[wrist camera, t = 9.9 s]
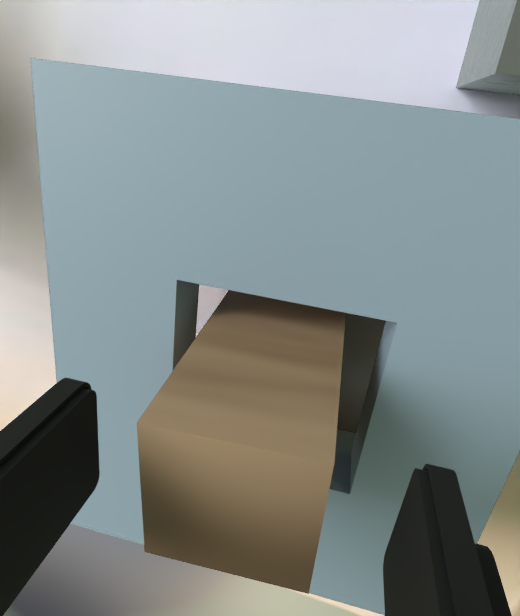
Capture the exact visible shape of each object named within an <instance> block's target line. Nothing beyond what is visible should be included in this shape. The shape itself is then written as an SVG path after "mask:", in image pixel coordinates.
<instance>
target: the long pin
mask: <svg viewBox="0 0 520 616" xmlns="http://www.w3.org/2000/svg"><path fill="white" fill-rule="evenodd" d="M345 319H346V313H344V312H339V311H334V310H329V309H324V308H319V307H314V306H309V305H303V304H298V303H293V302H288V301H283V300H278V299H273V298H268V297H263V296H257V295H252V294H247V293H242V292H237V291H232V290H229V291H228V293H227V294H226V295H225V297H224V298H223V300H222V301H221V303H220V304H219V305H218V307H217V308H216V310H215V311H214V313H213V314H212V315H211V317H210V318H209V320H208V321H207V323H206V324H205V325H204V327H203V328H202V330H201V331H200V333H199V334H198V335H197V337H196V338H195V340H194V341H193V343H192V344H191V345H190V347H189V348H188V350H187V351H186V353H185V354H184V355H183V357H182V358H181V360H180V361H179V363H178V364H177V365H176V367H175V368H174V370H173V371H172V373H171V374H170V375H169V377H168V378H167V380H166V381H165V383H164V384H163V385H162V387H161V388H160V390H159V391H158V393H157V394H156V395H155V397H154V398H153V400H152V401H151V403H150V404H149V405H148V407H147V408H146V410H145V411H144V413H143V414H142V415H141V417H140V418H139V420H138V421H137V438H138V454H139V470H140V486H141V501H142V517H143V533H144V547H145V548H144V549H145V552H147V553H151V554H155V555H159V556H163V557H167V558H171V559H175V560H179V561H183V562H187V563H191V564H194V565H198V566H202V567H206V568H210V569H214V570H218V571H222V572H226V573H230V574H234V575H238V576H242V577H245V578H249V579H254V580H257V581H261V582H265V583H269V584H273V585H277V586H281V587H285V588H289V589H292V590H296V591H300V592H304V593H308V594H309V590H310V585H311V580H312V574H313V569H314V564H315V559H316V554H317V549H318V544H319V539H320V534H321V529H322V524H323V519H324V514H325V509H326V504H327V498H328V493H329V488H330V483H331V478H332V473H333V468H334V462H335V449H336V436H337V423H338V410H339V397H340V384H341V371H342V358H343V345H344V332H345Z"/></svg>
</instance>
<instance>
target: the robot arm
mask: <svg viewBox="0 0 520 616" xmlns="http://www.w3.org/2000/svg"><path fill="white" fill-rule="evenodd" d="M99 475H100V471H99V444H98V418H97V395H96V392H95V391H94V390H91V386H90V384H89V383H87V382H83V381H79V380H75V379H71V378H63V379H61V380H60V381H59V382H58V383H56V384H55V385H54V386H53V387H52V388H51V389H49V390H48V391H47V392H46V393H45V394H44V395H42V396H41V397H40V398H39V399H38V400H36V401H35V402H34V403H33V404H32V405H31V406H29V407H28V408H27V409H26V410H25V411H24V412H22V413H21V414H20V415H19V416H18V417H17V418H15V419H14V420H13V421H12V422H11V423H9V424H8V425H7V426H6V427H5V428H4V429H2V430H1V431H0V616H3V615H4V613H5V612H6V611H7V609H8V608H9V607H10V605H11V604H12V602H13V601H14V600H15V598H16V597H17V596H18V594H19V593H20V591H21V590H22V589H23V587H24V586H25V585H26V583H27V582H28V580H29V579H30V578H31V576H32V575H33V574H34V572H35V571H36V569H37V568H38V567H39V565H40V564H41V563H42V561H43V560H44V559H45V557H46V556H47V554H48V553H49V552H50V550H51V549H52V548H53V546H54V545H55V543H56V542H57V541H58V539H59V538H60V537H61V535H62V534H63V532H64V531H65V530H66V528H67V527H68V526H69V524H70V523H71V522H72V520H73V519H74V518H75V516H76V515H77V513H78V512H79V511H80V509H81V508H82V507H83V505H84V504H85V502H86V501H87V500H88V498H89V497H90V496H91V494H92V493H93V491H94V490H95V488H96V486H97V484H98V481H99ZM383 583H384V605H385V616H511V612H510V609H509V606H508V602H507V599H506V596H505V592H504V589H503V586H502V582H501V579H500V576H499V572H498V569H497V566H496V562H495V559H494V557H493V554H492V552H491V551H490V549H489V548H488V547H486V546H483V545H479V544H475V543H474V539H473V535H472V531H471V528H470V524H469V520H468V516H467V512H466V509H465V505H464V501H463V497H462V493H461V490H460V486H459V482H458V478H457V475H456V472H455V471H454V470H452V469H448V468H443V467H439V466H435V465H431V464H425V466H424V467H423V469H418V468H415V469H414V471H413V473H412V476H411V479H410V482H409V485H408V488H407V491H406V494H405V496H404V499H403V502H402V505H401V508H400V511H399V514H398V517H397V520H396V522H395V525H394V528H393V531H392V534H391V537H390V540H389V543H388V546H387V548H386V551H385V555H384V562H383Z"/></svg>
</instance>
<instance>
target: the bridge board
mask: <svg viewBox="0 0 520 616" xmlns="http://www.w3.org/2000/svg"><path fill="white" fill-rule="evenodd" d="M30 59H31V71H32V84H33V96H34V108H35V121H36V133H37V145H38V157H39V170H40V182H41V194H42V207H43V219H44V231H45V244H46V256H47V268H48V280H49V293H50V305H51V317H52V330H53V342H54V354H55V366H56V379H57V383H58V382H59V381H60V380H61V379H63V378H71V379H75V380H79V381H83V382H87V383H89V384H90V386H91V390H94V391H95V392H96V395H97V418H98V444H99V471H100V475H99V481H98V484H97V486H96V488H95V490H94V491H93V493H92V494H91V496H90V497H89V498H88V500H87V501H86V502H85V504H84V505H83V507H82V508H81V509H80V511H79V512H78V513H77V515H76V516H75V518H74V519H73V520H72V522H71V523H70V524H74V525H77V526H81V527H84V528H88V529H91V530H94V531H98V532H102V533H105V534H108V535H112V536H115V537H118V538H122V539H125V540H129V541H132V542H136V543H139V544H142V545H144V533H143V517H142V501H141V486H140V470H139V454H138V438H137V421H138V420H139V418H140V417H141V415H142V414H143V413H144V411H145V410H146V408H147V407H148V405H149V404H150V403H151V401H152V400H153V398H154V397H155V395H156V394H157V393H158V391H159V390H160V388H161V387H162V385H163V384H164V383H165V381H166V380H167V378H168V377H169V375H170V374H171V373H172V371H173V370H174V368H175V367H176V365H177V364H178V363H179V361H180V360H181V358H182V357H183V355H184V354H185V353H186V351H187V350H188V348H189V347H190V345H191V344H192V343H193V341H194V340H195V336H196V321H197V307H198V292H199V284H201V285H206V286H211V287H217V288H222V289H227V290H232V291H237V292H242V293H247V294H252V295H257V296H263V297H268V298H273V299H278V300H283V301H288V302H293V303H298V304H303V305H309V306H314V307H319V308H324V309H329V310H334V311H339V312H344V313H349V314H355V315H360V316H365V317H370V318H375V319H380V320H385V321H386V322H385V326H384V330H383V334H382V338H381V341H380V345H379V349H378V353H377V356H376V360H375V364H374V368H373V372H372V375H371V379H370V383H369V387H368V391H367V394H366V398H365V402H364V406H363V410H362V413H361V417H360V421H359V425H358V429H357V432H356V433H353V432H348V431H344V430H340V429H337V436H336V449H335V462H334V468H333V473H332V478H331V483H330V488H329V493H328V498H327V504H326V509H325V514H324V519H323V524H322V529H321V534H320V539H319V544H318V549H317V554H316V559H315V564H314V569H313V574H312V580H311V585H310V590H309V593H311V594H314V595H318V596H321V597H324V598H328V599H331V600H335V601H338V602H342V603H345V604H348V605H352V606H355V607H359V608H362V609H366V610H369V611H372V612H376V613H379V614H383V615H385V605H384V583H383V562H384V555H385V551H386V548H387V546H388V543H389V540H390V537H391V534H392V531H393V528H394V525H395V522H396V520H397V517H398V514H399V511H400V508H401V505H402V502H403V499H404V496H405V494H406V491H407V488H408V485H409V482H410V479H411V476H412V473H413V471H414V469H415V468H418V469H423V467H424V466H425V464H431V465H435V466H439V467H443V468H448V469H452V470H454V471H455V472H456V475H457V478H458V482H459V486H460V490H461V493H462V497H463V501H464V505H465V509H466V512H467V516H468V520H469V524H470V528H471V531H472V535H473V539H474V543H475V544H477V542H478V540H479V538H480V536H481V533H482V531H483V529H484V527H485V525H486V523H487V520H488V518H489V516H490V514H491V512H492V510H493V508H494V505H495V503H496V501H497V499H498V497H499V495H500V492H501V490H502V488H503V486H504V484H505V482H506V480H507V477H508V475H509V473H510V471H511V469H512V467H513V464H514V462H515V460H516V458H517V456H518V454H519V452H520V119H516V118H508V117H500V116H492V115H484V114H476V113H468V112H460V111H452V110H444V109H436V108H428V107H420V106H412V105H403V104H395V103H387V102H379V101H371V100H363V99H355V98H347V97H339V96H331V95H323V94H315V93H307V92H299V91H291V90H283V89H275V88H267V87H259V86H251V85H243V84H235V83H227V82H219V81H211V80H203V79H195V78H187V77H179V76H171V75H163V74H155V73H147V72H139V71H131V70H123V69H115V68H107V67H99V66H91V65H83V64H75V63H67V62H59V61H51V60H43V59H35V58H30Z"/></svg>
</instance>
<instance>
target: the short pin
mask: <svg viewBox="0 0 520 616" xmlns="http://www.w3.org/2000/svg"><path fill="white" fill-rule="evenodd" d="M456 88H464V89H473V90H481V91H490V92H498V93H507V94H516V95H520V0H480V1H479V5H478V8H477V12H476V16H475V20H474V23H473V27H472V31H471V34H470V38H469V42H468V45H467V49H466V53H465V56H464V60H463V64H462V67H461V71H460V75H459V79H458V82H457V86H456Z"/></svg>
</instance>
